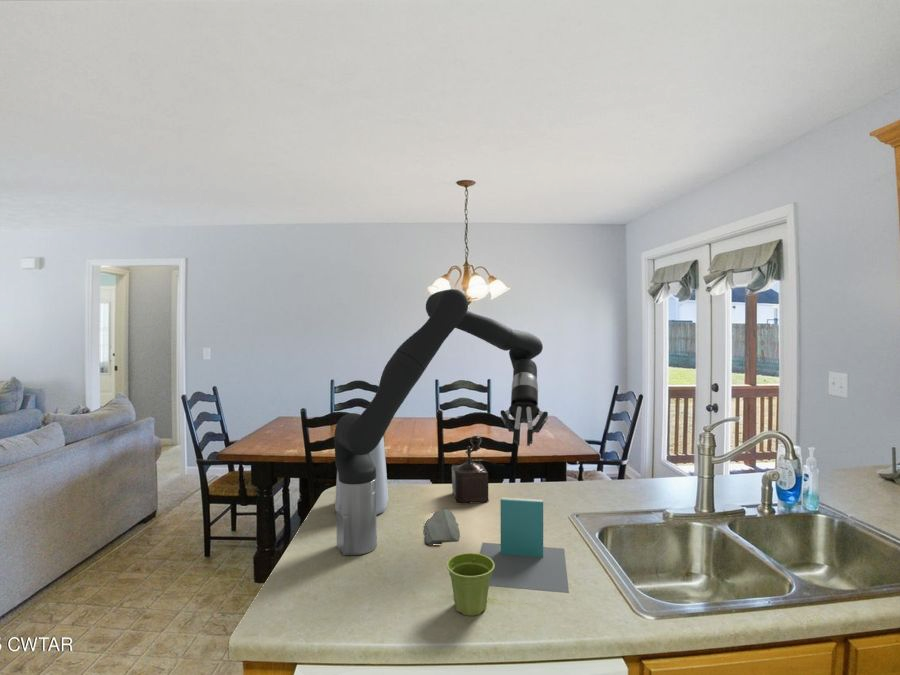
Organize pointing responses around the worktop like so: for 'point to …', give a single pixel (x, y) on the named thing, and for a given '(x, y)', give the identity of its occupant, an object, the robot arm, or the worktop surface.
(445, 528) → the stone slab
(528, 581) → the rubber mat
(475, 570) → the plant pot
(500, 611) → the worktop surface
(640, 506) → the worktop surface
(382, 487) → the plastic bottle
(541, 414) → the robot arm
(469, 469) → the brown coffee grinder
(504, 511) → the glazed tile
